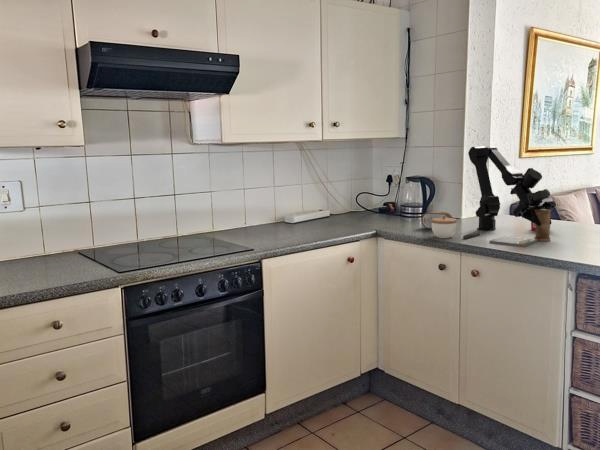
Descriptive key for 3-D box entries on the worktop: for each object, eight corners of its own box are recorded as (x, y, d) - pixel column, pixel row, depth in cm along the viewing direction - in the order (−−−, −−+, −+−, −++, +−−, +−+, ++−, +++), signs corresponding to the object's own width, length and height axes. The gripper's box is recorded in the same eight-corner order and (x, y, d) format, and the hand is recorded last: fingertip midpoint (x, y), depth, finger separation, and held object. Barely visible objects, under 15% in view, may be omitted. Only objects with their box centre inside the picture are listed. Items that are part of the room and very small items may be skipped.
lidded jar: (427, 238, 233) (427, 216, 231) (436, 234, 242) (436, 213, 240) (451, 239, 227) (451, 218, 225) (459, 235, 236) (460, 214, 234)
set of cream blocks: (519, 243, 210) (519, 240, 209) (527, 240, 215) (527, 237, 215) (522, 243, 209) (523, 240, 208) (530, 240, 214) (530, 237, 214)
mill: (531, 240, 220) (532, 210, 218) (537, 238, 224) (538, 208, 222) (546, 242, 216) (548, 211, 214) (552, 239, 220) (553, 209, 218)
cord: (465, 239, 226) (465, 235, 226) (462, 239, 227) (462, 235, 227) (480, 235, 235) (480, 231, 235) (477, 234, 237) (477, 231, 236)
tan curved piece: (453, 229, 251) (453, 212, 250) (451, 230, 249) (451, 213, 248) (423, 227, 260) (423, 210, 259) (420, 228, 258) (420, 211, 256)
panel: (489, 243, 217) (489, 240, 217) (503, 238, 226) (503, 235, 226) (523, 246, 207) (523, 244, 207) (537, 241, 216) (537, 239, 216)
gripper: (519, 184, 216) (539, 214, 208) (553, 181, 223) (574, 210, 215) (504, 201, 225) (523, 231, 216) (537, 198, 232) (557, 227, 223)
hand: (545, 224), depth 217 cm, fingers closed on mill, 5 cm apart
